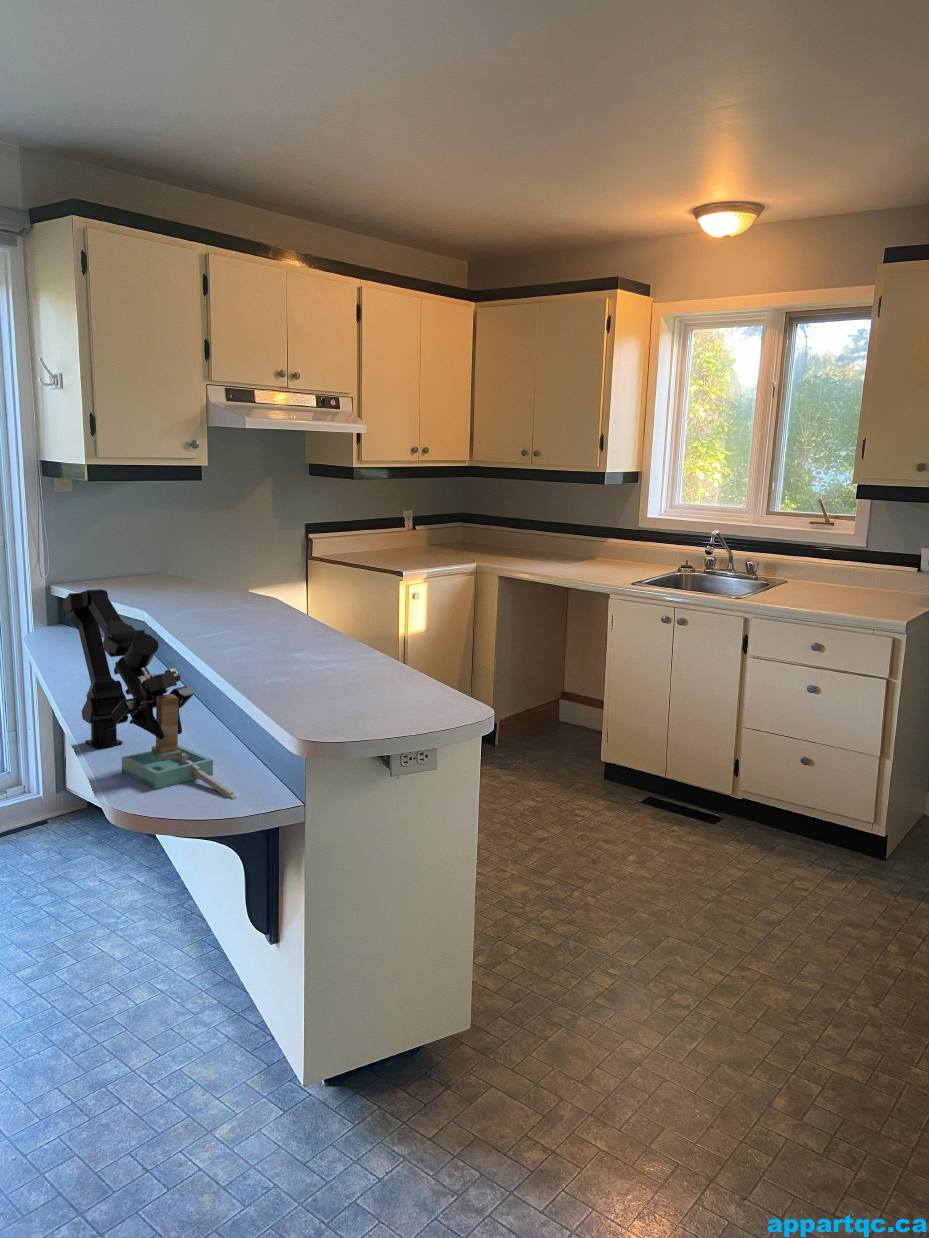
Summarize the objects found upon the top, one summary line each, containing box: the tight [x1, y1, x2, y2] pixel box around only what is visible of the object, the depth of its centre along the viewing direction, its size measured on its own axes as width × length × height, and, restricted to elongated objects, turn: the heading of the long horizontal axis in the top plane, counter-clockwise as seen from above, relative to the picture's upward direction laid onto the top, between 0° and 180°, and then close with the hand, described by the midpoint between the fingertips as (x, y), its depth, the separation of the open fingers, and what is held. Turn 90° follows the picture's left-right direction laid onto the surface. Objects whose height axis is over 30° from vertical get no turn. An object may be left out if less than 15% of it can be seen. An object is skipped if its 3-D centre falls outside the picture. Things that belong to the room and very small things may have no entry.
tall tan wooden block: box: [151, 693, 182, 761], centre depth 196 cm, size 6×4×14 cm
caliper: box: [178, 753, 238, 800], centre depth 191 cm, size 20×1×6 cm, turn 50°
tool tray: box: [121, 744, 214, 790], centre depth 197 cm, size 14×14×4 cm
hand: (171, 735), depth 195 cm, fingers closed on tall tan wooden block, 5 cm apart
